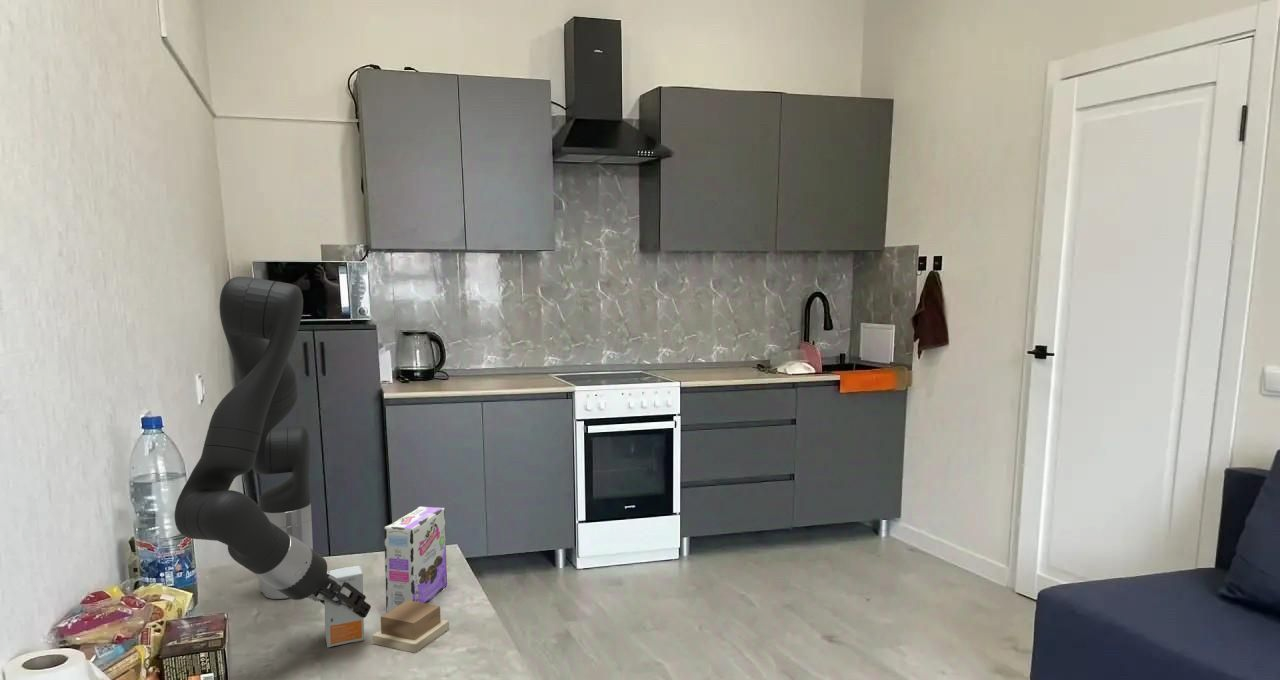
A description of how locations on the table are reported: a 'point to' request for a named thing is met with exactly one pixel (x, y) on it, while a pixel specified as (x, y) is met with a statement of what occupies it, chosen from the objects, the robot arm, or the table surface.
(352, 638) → the skincare box
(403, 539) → the candy box
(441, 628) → the plinth
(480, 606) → the table surface
